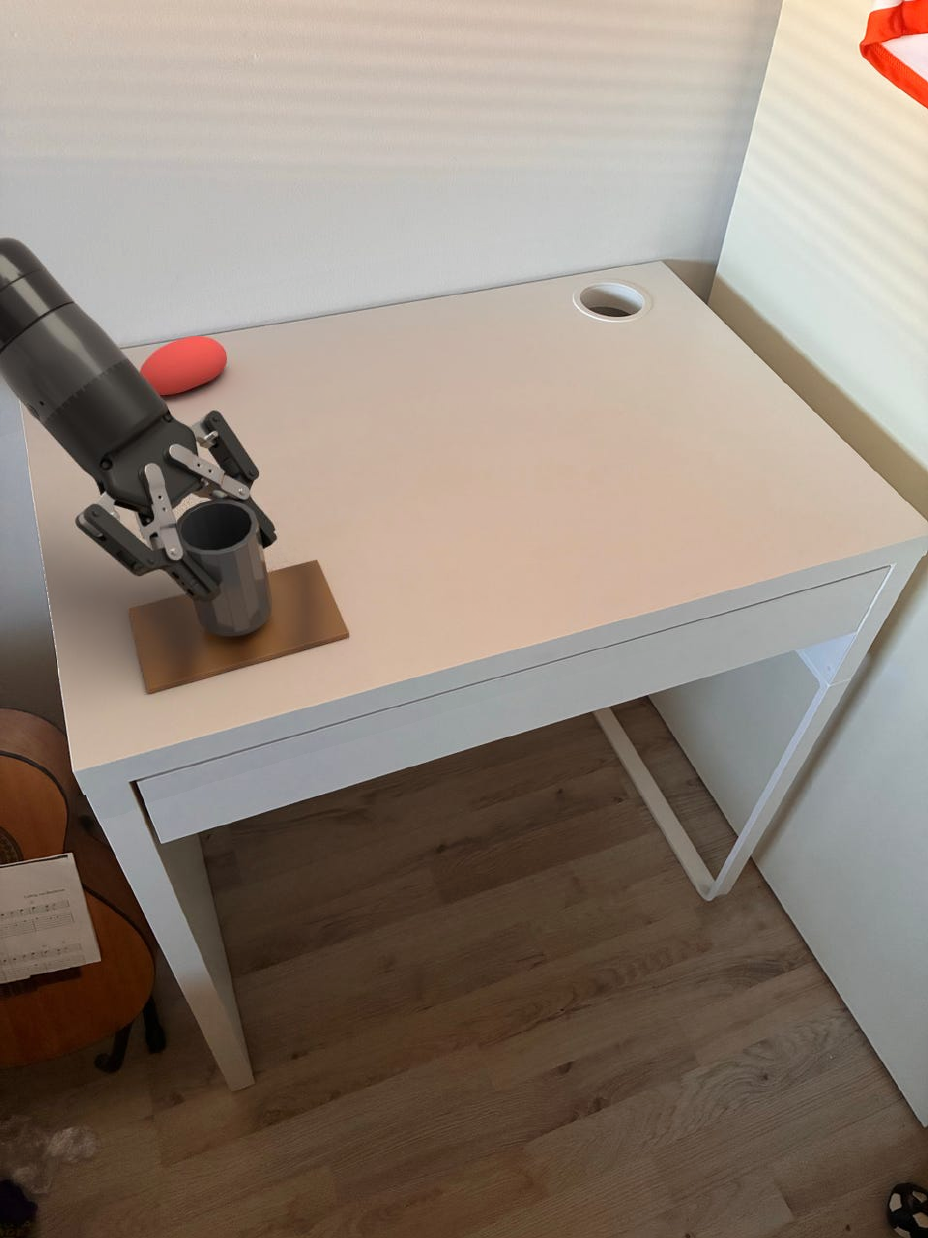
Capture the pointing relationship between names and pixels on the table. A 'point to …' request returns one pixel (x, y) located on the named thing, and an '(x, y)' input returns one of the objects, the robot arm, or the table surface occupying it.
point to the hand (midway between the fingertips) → (242, 569)
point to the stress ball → (184, 364)
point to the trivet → (192, 653)
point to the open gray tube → (228, 565)
